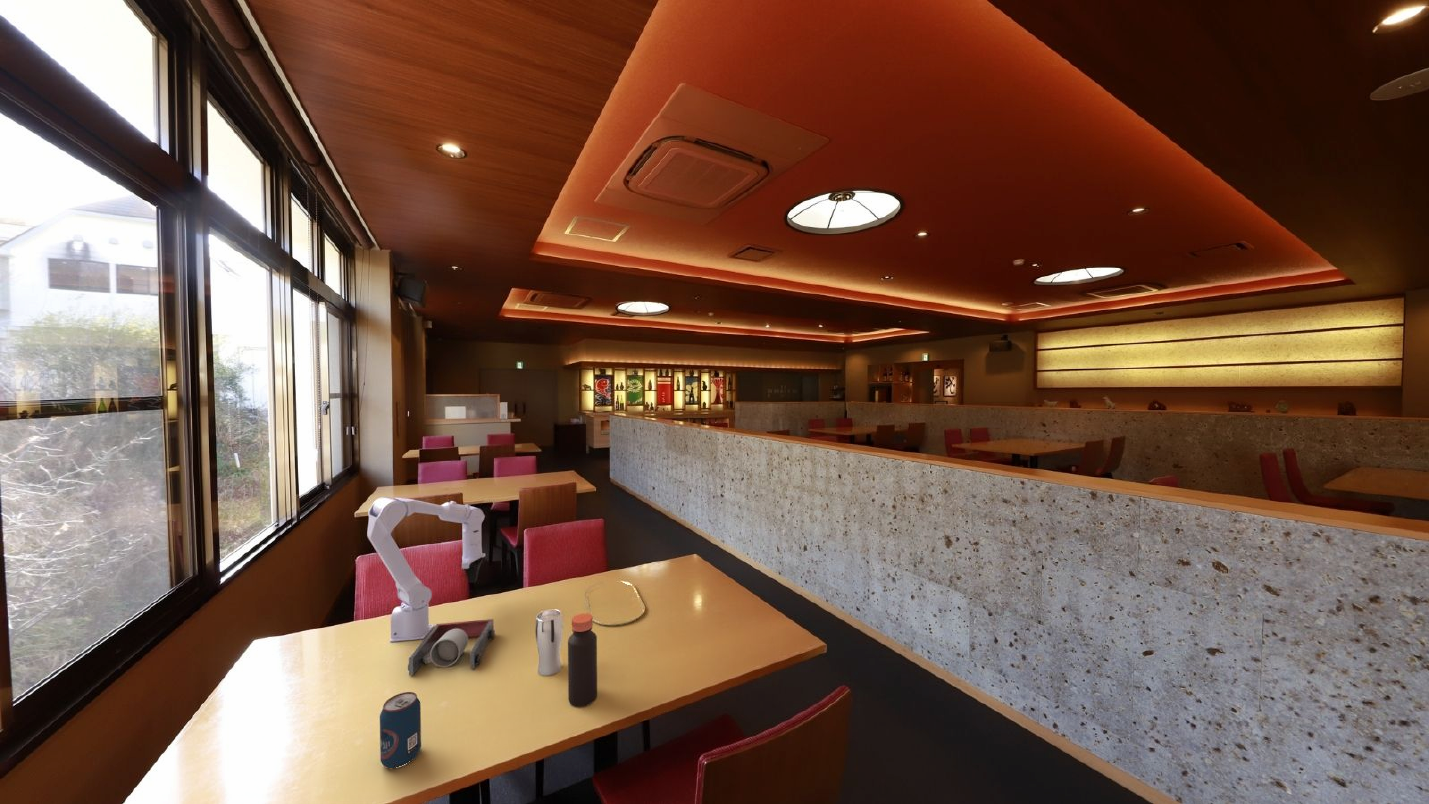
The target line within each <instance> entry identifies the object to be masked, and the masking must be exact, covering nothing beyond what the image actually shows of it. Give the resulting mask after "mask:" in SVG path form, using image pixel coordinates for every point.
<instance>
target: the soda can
mask: <svg viewBox="0 0 1429 804" xmlns="http://www.w3.org/2000/svg"><path fill="white" fill-rule="evenodd" d="M421 710H422V709H421V701H420V699H419V698H418V695H417V694H416V693H415V692H413V691H406V692H400V693H398V694H395V695H392V696H391V697H389V698H388V699H387V700H385V702H384V704H383V707H382V710H381V712H380V714H379V746H380V747H379V750H380V755H379V756H380V758H379V759H380V762H381V764H382V765H383V766H384V767H385V768H386V767H387V768H386V769H388V768H396V767H399V766H402V765H404V764H406V763H408V762H409V761H411V760H412V759H414V758H415V759H416V757H417V756H416V755H418V754H419V752H420V751H421V748H422V717H421V715H422V713H421V712H422V711H421ZM415 759H414V760H415ZM411 762H412V761H411Z"/></svg>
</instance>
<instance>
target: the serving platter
mask: <svg viewBox="0 0 1429 804" xmlns="http://www.w3.org/2000/svg"><path fill="white" fill-rule="evenodd" d="M611 581H616V582H623V583H625V584H627V585H631V586H632V587H633V589H634V593H635V594H636V595H637V599H638V602H640V603H641V606H642V611H643V612H642V614H641V615H640V614H639V615H640V616H639V615H638V616H637V617H635V618H633V619H630V620H627V621H624V622H617V623H616V622H615V623H606V622H600V621H597V620H596V619H594V620H593V623H594V624H597V625H600V624H601V625H600V626H604V625H607V627H617V626H616V625H619V626H624V625H623V624H625V625H628V624H630V622H631V623H632V621H633V622H635V621H637V620H638V619H639V618H641V617H642V616H643V615H644V613H645V612H646V611H645V610H646V607H645V606H646V605H645V604H644V602H643V600H642V598H641V596H640V594H639V592H638V590H637V589H636V586H635V585H634V584H633V583H631V582H629V581H627V580H620V579H616V580H615V579H611V580H605V581H604V580H603V581H600V582H599V581H598V582H596V583H594V584H592V585H590V586H588V587H587V588H585V590H584V592H583V596H584V602H585V606H586V610H587V614H590V615H591V613H590V611H592V608H591V609H590V607H591V606H590V607H589V604H588V602H589V603H590V600H589V601H588V599H589V598H588V599H587V595H586V594H588V592H589V591H590V589H592V588H593V587H594V586H596V585H601V584H604V583H607V582H611ZM590 592H591V591H590ZM590 592H589V593H590ZM588 595H589V594H588ZM636 619H637V620H636ZM627 623H628V624H627Z"/></svg>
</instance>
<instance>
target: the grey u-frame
mask: <svg viewBox="0 0 1429 804" xmlns="http://www.w3.org/2000/svg"><path fill="white" fill-rule="evenodd" d="M456 628H457V629H462V630H464V631H465V632H466V633H467V635H468V638H473V637H474V638H475V637H477V638H478V639H477V641H476V642H475V644H474V645H473V647H472V649H471V650H470V652H469V659H470V660H469V665H470V667H469V668H470V669H471V670H473V669H475V668H476V666H477V665H479V664H481V663H482V656H483V653H484V652H485V650H486V648H487V646H488V644H489V643H490V641H491V640H493V639H494V638H495V636H496V635H495V629H494V618H491V619H489V618H488V619H479V620H467V621H456V622H454V621H453V622H444V623H436V624H435V625H434V627H433V628H432V629H431V631H430V632H429V633H428V634H427V635H426V637H425V638H424V639H423V640H422V642H421V643H420V644H419V645H418V647H417V648H416V649H415V650H414V651H413V653H412V654H411V655H410V656H409V658H408V665H407V671H408V676H414V675H415V673H416V672H417V671H418V669H420V668H421V667H420V666H422V664H423V663H424V661H423V658H424V657H425V656H426V655H427V654H428V653H429V652H430V651H431V649H432V647H433V645H434V644H435V643H436V642H437V641H438V640H439V639H440V638H441V637H442V636H443V635H444V634H445V633H446V632H448V631H449V630H452V629H456Z"/></svg>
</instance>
